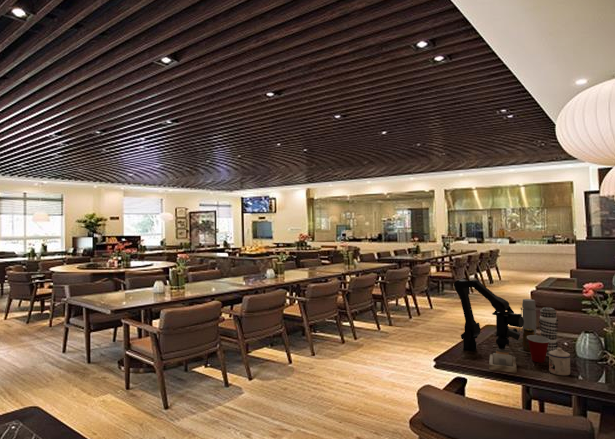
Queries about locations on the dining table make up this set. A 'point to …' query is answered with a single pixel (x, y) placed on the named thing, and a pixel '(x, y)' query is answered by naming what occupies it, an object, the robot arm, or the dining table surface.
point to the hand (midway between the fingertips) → (502, 353)
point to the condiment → (526, 340)
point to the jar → (502, 351)
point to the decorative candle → (549, 327)
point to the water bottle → (529, 314)
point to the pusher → (502, 359)
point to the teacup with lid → (559, 362)
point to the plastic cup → (538, 347)
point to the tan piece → (503, 368)
